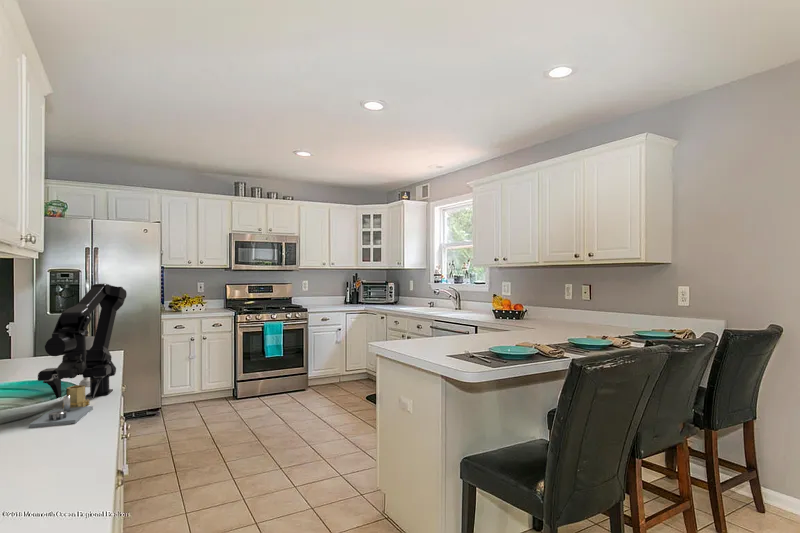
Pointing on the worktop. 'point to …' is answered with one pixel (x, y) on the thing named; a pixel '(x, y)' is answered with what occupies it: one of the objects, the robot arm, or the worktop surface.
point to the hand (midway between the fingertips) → (76, 399)
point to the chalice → (88, 345)
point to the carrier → (62, 415)
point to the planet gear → (77, 396)
